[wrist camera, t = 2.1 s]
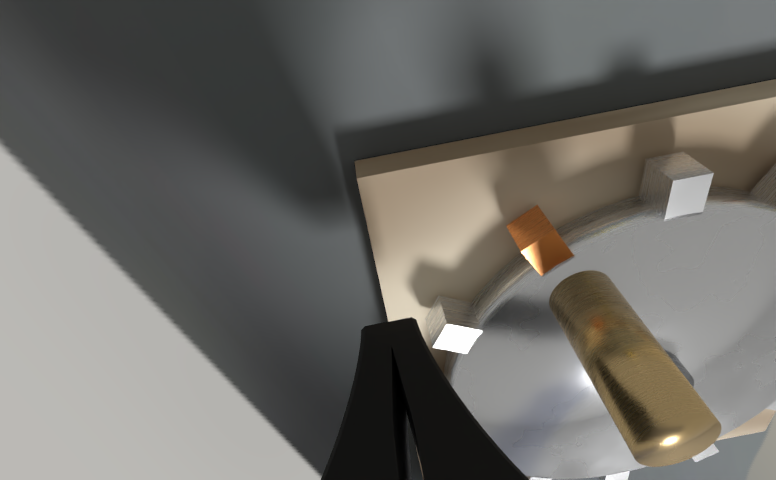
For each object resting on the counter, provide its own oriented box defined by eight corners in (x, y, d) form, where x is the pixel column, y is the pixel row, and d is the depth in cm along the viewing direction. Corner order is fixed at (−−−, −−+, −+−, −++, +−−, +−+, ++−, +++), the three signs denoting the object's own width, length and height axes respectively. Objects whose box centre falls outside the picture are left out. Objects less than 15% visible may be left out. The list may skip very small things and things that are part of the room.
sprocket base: (749, 412, 23) (769, 436, 22) (423, 476, 23) (428, 503, 22) (930, 48, 13) (983, 62, 12) (354, 160, 13) (357, 183, 12)
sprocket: (876, 343, 19) (1058, 490, 14) (538, 501, 23) (593, 651, 18) (807, 21, 11) (1165, 112, 6) (318, 352, 15) (317, 548, 11)
